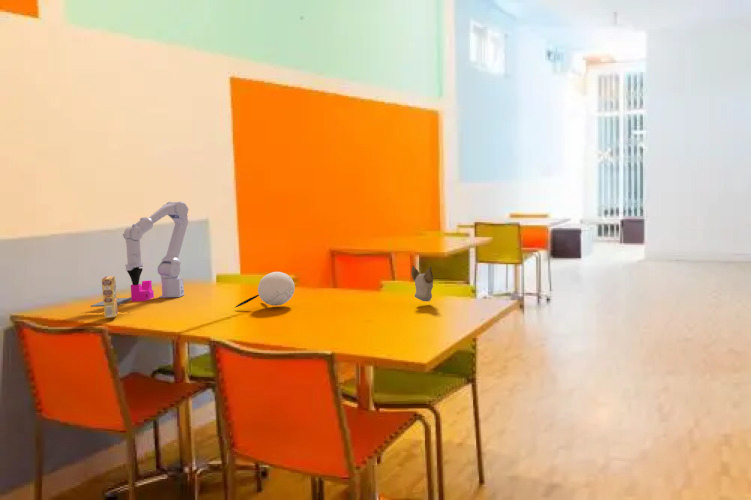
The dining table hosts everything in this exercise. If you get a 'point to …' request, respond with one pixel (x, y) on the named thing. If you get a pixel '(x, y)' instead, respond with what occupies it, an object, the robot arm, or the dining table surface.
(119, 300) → the rubber mat
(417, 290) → the ceramic sculpture
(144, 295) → the toy block
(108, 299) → the candy box
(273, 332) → the dining table surface
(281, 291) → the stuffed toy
